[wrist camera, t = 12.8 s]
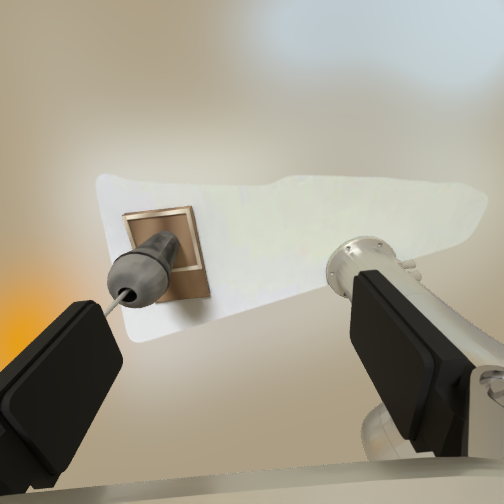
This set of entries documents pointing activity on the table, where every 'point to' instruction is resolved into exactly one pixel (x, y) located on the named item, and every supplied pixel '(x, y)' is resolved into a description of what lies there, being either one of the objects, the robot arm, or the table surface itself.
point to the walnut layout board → (189, 254)
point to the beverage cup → (143, 272)
